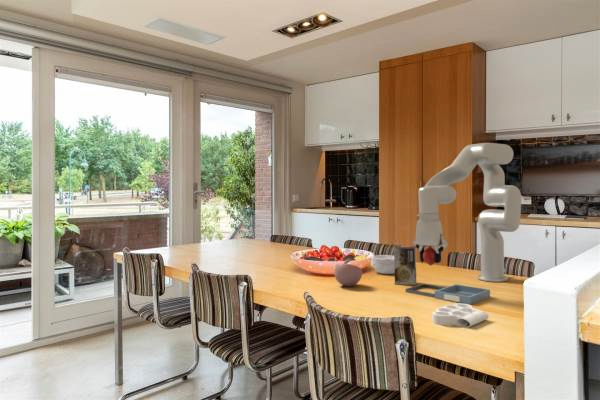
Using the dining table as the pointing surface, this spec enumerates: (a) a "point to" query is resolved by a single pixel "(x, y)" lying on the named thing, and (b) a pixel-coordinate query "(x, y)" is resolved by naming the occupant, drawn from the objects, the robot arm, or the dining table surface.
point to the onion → (429, 255)
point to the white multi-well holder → (458, 315)
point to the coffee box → (405, 265)
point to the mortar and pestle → (347, 273)
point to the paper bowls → (383, 264)
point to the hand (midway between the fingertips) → (430, 261)
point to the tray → (462, 294)
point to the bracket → (413, 290)
